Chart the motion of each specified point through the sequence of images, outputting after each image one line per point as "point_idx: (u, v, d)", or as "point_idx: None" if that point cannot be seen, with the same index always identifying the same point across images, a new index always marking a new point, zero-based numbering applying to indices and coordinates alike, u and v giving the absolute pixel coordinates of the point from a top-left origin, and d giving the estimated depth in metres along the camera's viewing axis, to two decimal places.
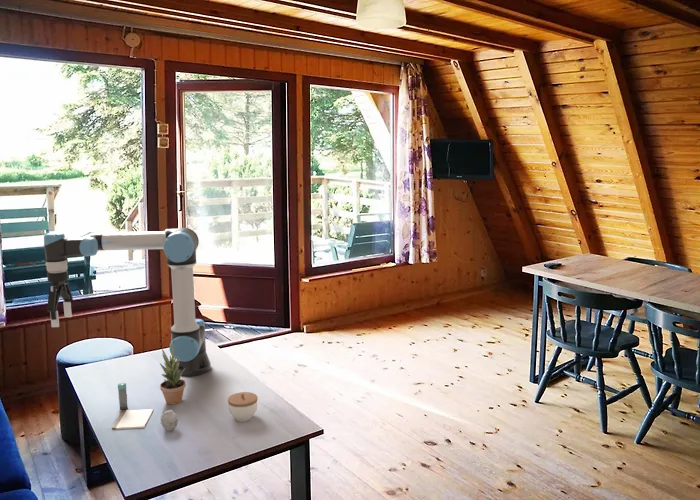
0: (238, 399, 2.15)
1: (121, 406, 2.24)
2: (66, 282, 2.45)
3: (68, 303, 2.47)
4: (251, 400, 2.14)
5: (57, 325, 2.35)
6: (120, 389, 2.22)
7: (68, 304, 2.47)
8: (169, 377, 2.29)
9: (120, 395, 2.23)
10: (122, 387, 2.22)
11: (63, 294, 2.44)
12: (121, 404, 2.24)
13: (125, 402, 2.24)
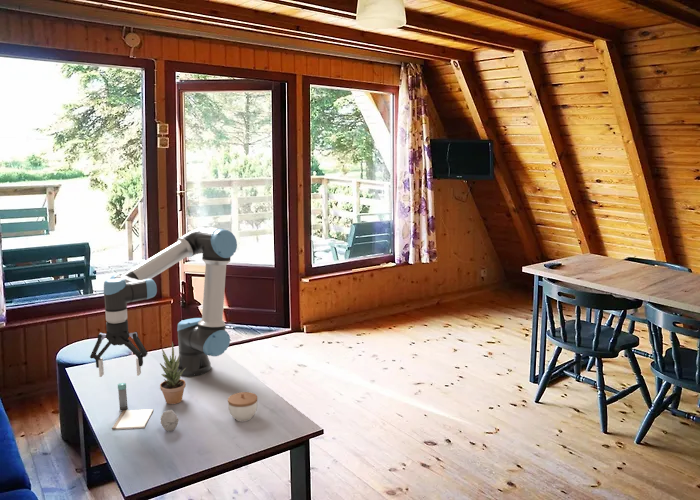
0: (238, 399, 2.15)
1: (121, 406, 2.24)
2: (133, 336, 2.20)
3: None
4: (251, 400, 2.14)
5: None
6: (120, 389, 2.22)
7: None
8: (169, 377, 2.29)
9: (120, 395, 2.23)
10: (122, 387, 2.22)
11: None
12: (121, 404, 2.24)
13: (125, 402, 2.24)
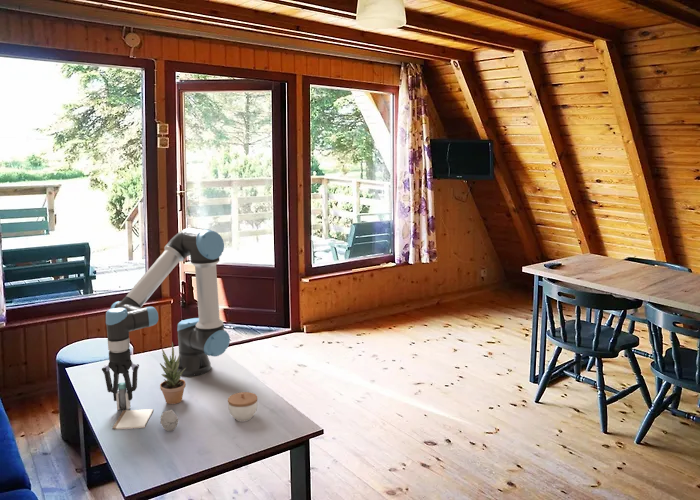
0: (238, 399, 2.15)
1: (121, 406, 2.24)
2: (134, 368, 2.22)
3: None
4: (251, 400, 2.14)
5: None
6: (120, 389, 2.22)
7: None
8: (169, 377, 2.29)
9: (120, 395, 2.23)
10: (122, 387, 2.22)
11: None
12: (121, 404, 2.24)
13: (125, 402, 2.24)
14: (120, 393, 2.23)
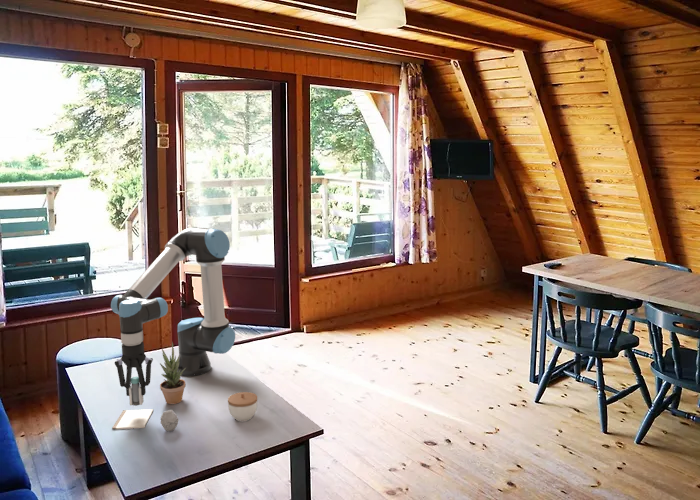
0: (238, 399, 2.15)
1: (134, 401, 2.17)
2: (147, 362, 2.15)
3: None
4: (251, 400, 2.14)
5: (130, 403, 2.17)
6: (133, 383, 2.16)
7: None
8: (169, 377, 2.29)
9: (133, 389, 2.16)
10: (135, 381, 2.15)
11: None
12: (134, 399, 2.17)
13: (138, 397, 2.17)
14: (133, 388, 2.16)
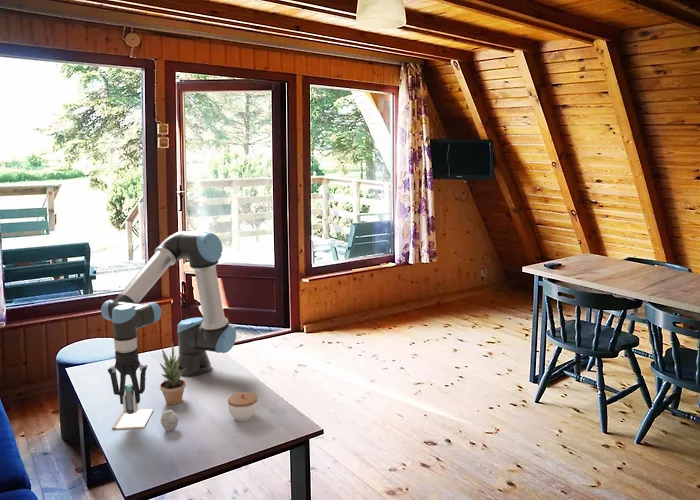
0: (238, 399, 2.15)
1: (128, 409, 2.10)
2: (142, 369, 2.08)
3: None
4: (251, 400, 2.14)
5: (124, 411, 2.10)
6: (127, 391, 2.09)
7: None
8: (169, 377, 2.29)
9: (127, 397, 2.10)
10: (129, 389, 2.09)
11: None
12: (128, 407, 2.10)
13: None
14: (127, 396, 2.09)
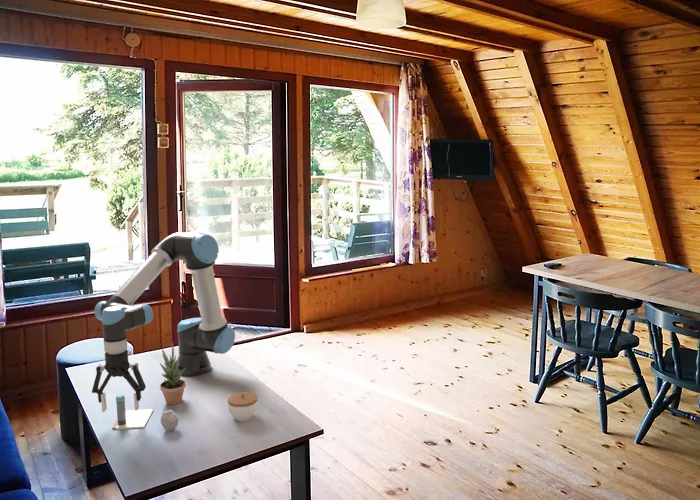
0: (238, 399, 2.15)
1: (119, 420, 2.11)
2: (133, 368, 2.08)
3: None
4: (251, 400, 2.14)
5: None
6: (118, 402, 2.10)
7: None
8: (169, 377, 2.29)
9: (118, 408, 2.10)
10: (120, 399, 2.10)
11: None
12: (119, 418, 2.11)
13: (123, 416, 2.11)
14: (118, 406, 2.10)
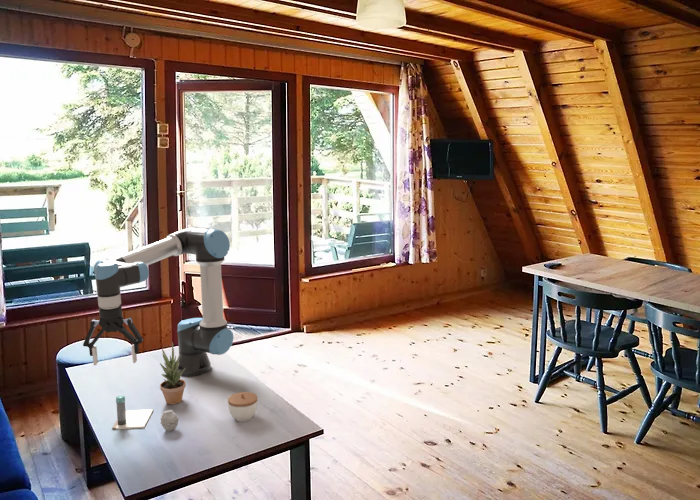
0: (238, 399, 2.15)
1: (119, 420, 2.11)
2: None
3: None
4: (251, 400, 2.14)
5: None
6: (118, 402, 2.09)
7: None
8: (169, 377, 2.29)
9: (118, 409, 2.10)
10: (120, 400, 2.09)
11: None
12: (119, 418, 2.11)
13: (123, 416, 2.11)
14: (118, 407, 2.10)
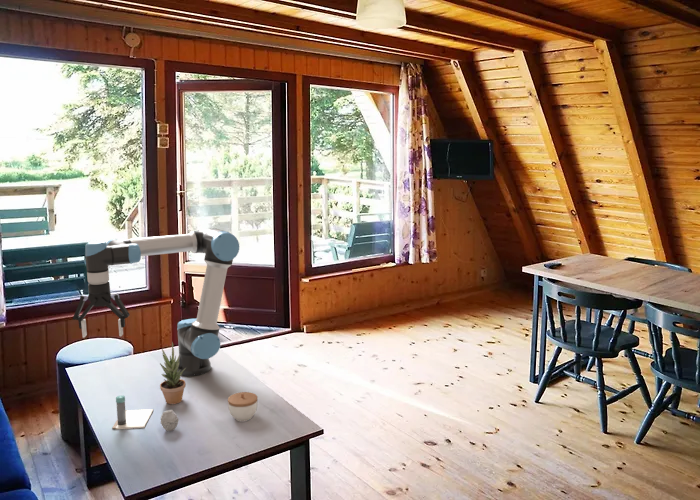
0: (238, 399, 2.15)
1: (119, 420, 2.11)
2: None
3: None
4: (251, 400, 2.14)
5: None
6: (118, 402, 2.09)
7: None
8: (169, 377, 2.29)
9: (118, 409, 2.10)
10: (120, 400, 2.09)
11: None
12: (119, 418, 2.11)
13: (123, 416, 2.11)
14: (118, 407, 2.10)
